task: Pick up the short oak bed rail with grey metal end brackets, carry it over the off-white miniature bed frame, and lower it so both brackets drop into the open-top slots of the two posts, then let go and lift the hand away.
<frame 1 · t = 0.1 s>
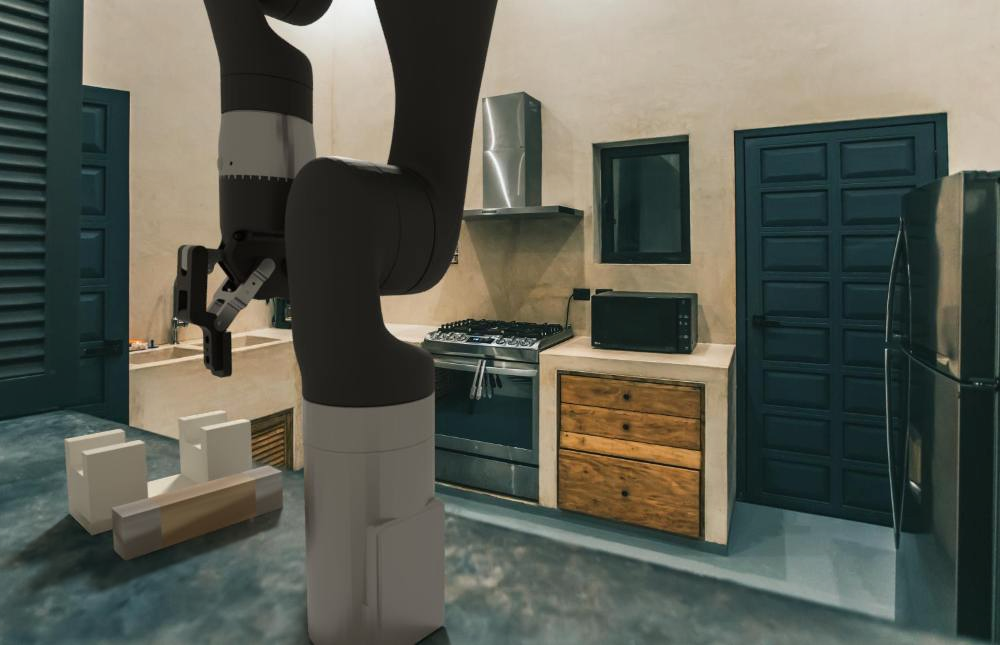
hand: (270, 368, 49), 17 cm above the worktop, tool pointing down, fingers open, 8 cm apart
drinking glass: (343, 549, 53), on the worktop
bed frame: (166, 499, 64), on the worktop
rail: (205, 526, 57), on the worktop
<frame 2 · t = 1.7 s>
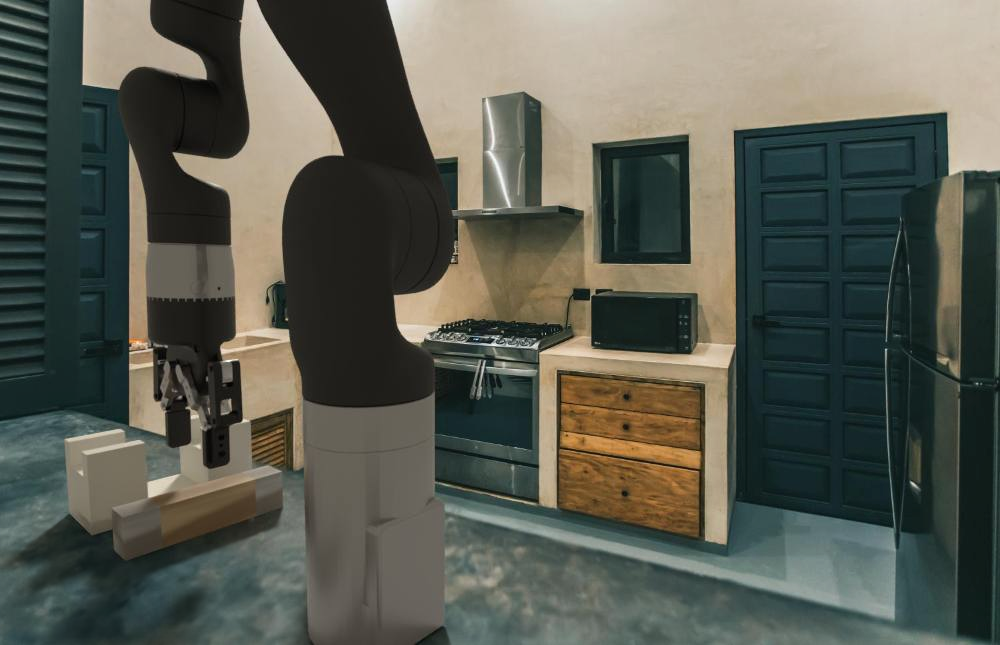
hand: (196, 455, 56), 7 cm above the worktop, tool pointing down, fingers open, 8 cm apart
nothing on the worktop moved.
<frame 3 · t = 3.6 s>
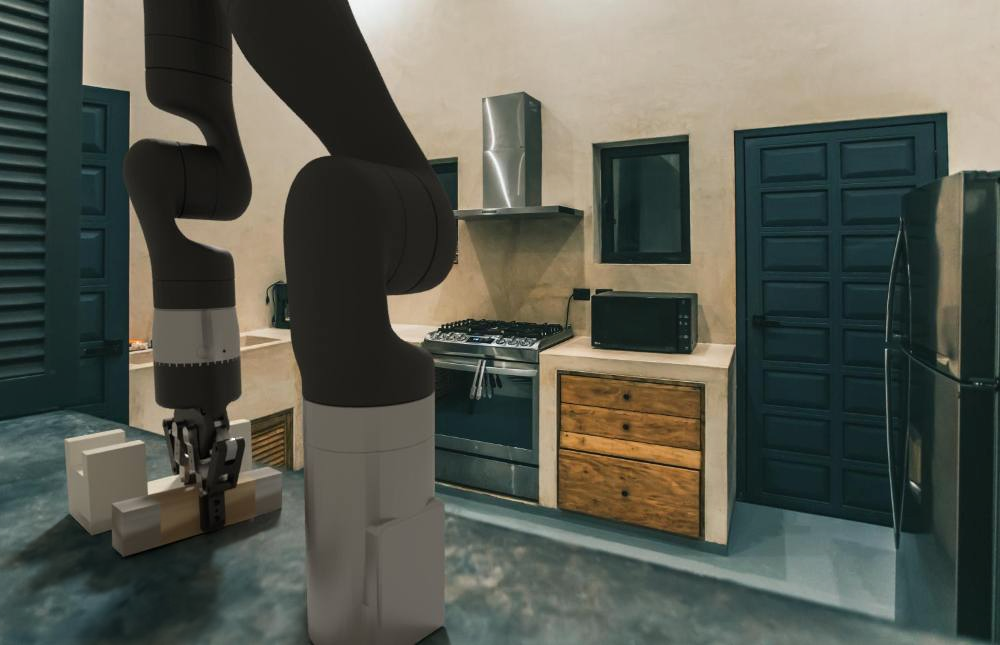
hand: (205, 523, 57), 0 cm above the worktop, tool pointing down, fingers closed on rail, 2 cm apart
rail: (204, 525, 57), on the worktop, touching gripper
everything else where it was.
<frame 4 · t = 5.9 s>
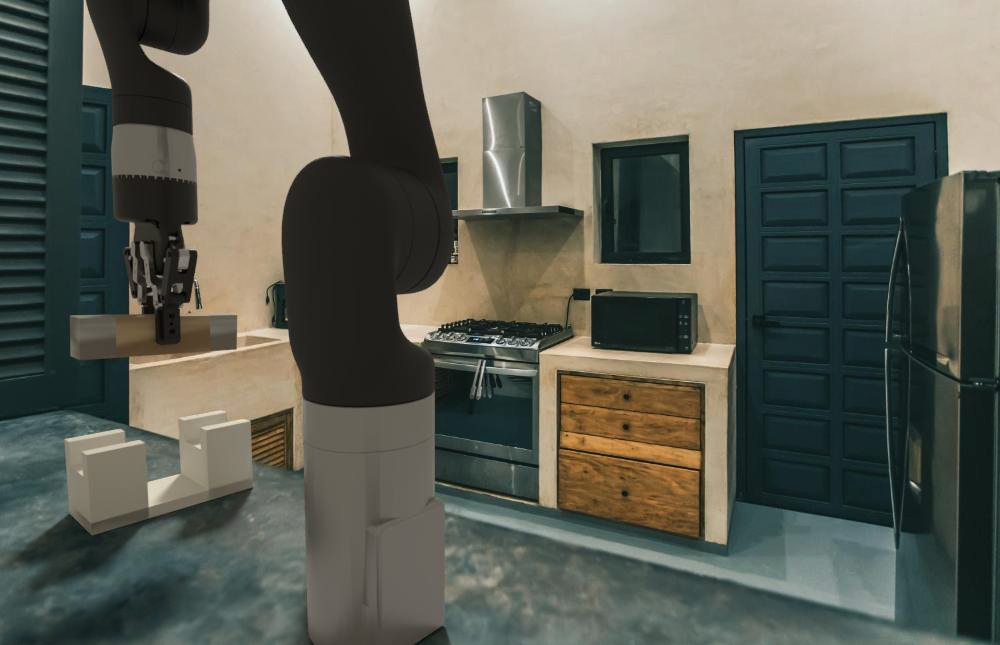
hand: (161, 341, 61), 18 cm above the worktop, tool pointing down, fingers closed on rail, 3 cm apart
rail: (160, 352, 61), point 17 cm above the worktop, touching gripper
everything else where it was.
when the fingers open (7 cm above the worktop, at t = 8.3 s): rail stays where it is, resting on bed frame.
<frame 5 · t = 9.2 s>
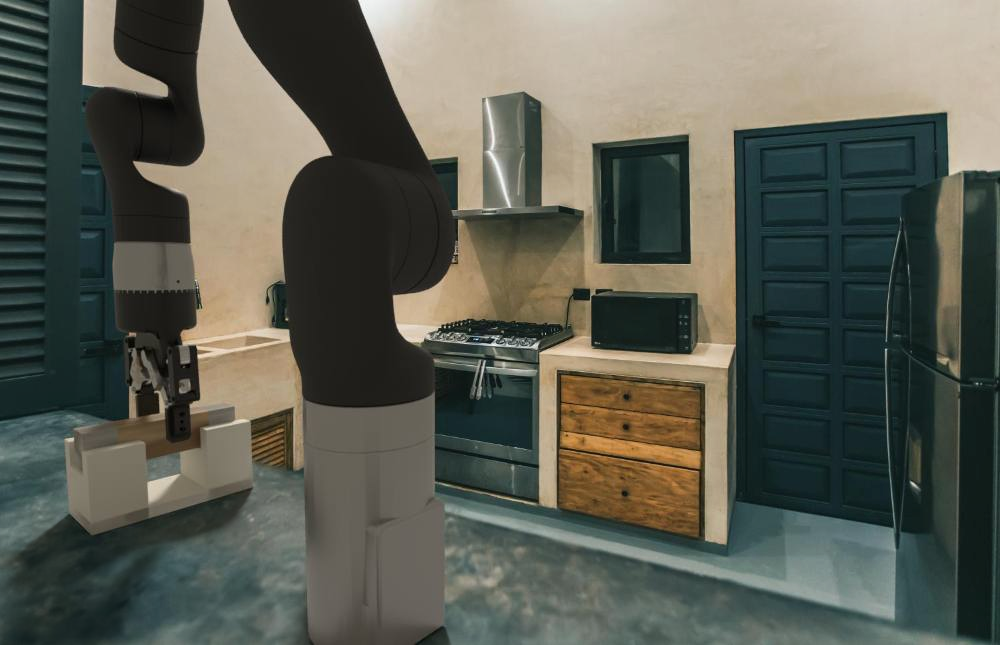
hand: (163, 433, 63), 8 cm above the worktop, tool pointing down, fingers open, 8 cm apart
rail: (161, 452, 63), point 5 cm above the worktop, touching bed frame
everything else where it was.
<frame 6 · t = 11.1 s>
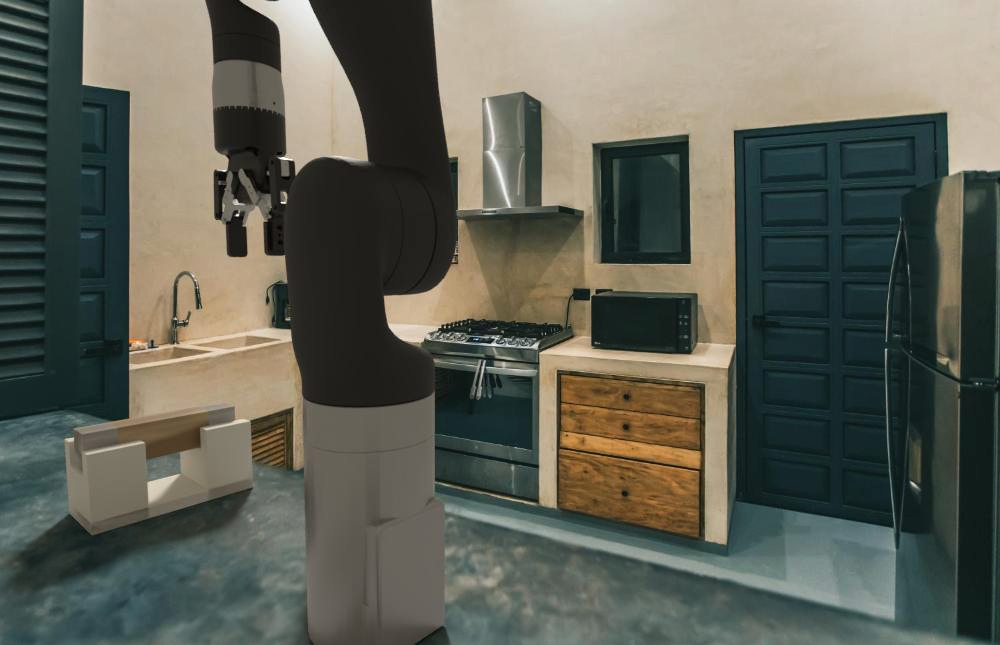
hand: (255, 256, 66), 27 cm above the worktop, tool pointing down, fingers open, 8 cm apart
nothing on the worktop moved.
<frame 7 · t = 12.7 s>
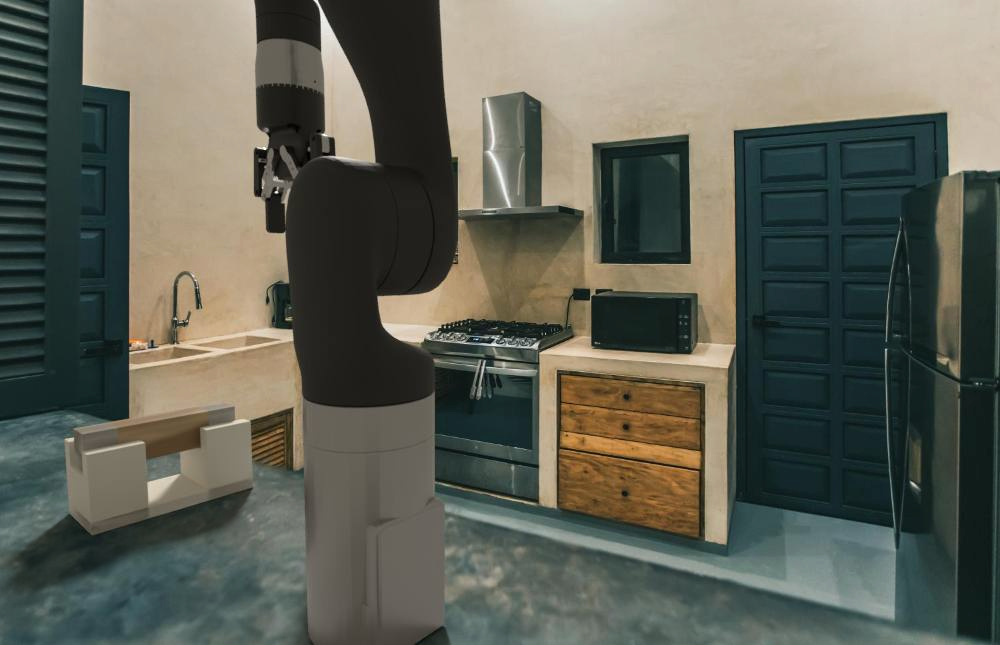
hand: (294, 231, 68), 30 cm above the worktop, tool pointing down, fingers open, 8 cm apart
nothing on the worktop moved.
at the end: rail 0.2 cm off-centre on the bed frame, point 5.5 cm above the bed frame's base; rail tilted 0°; the gripper is holding nothing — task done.
